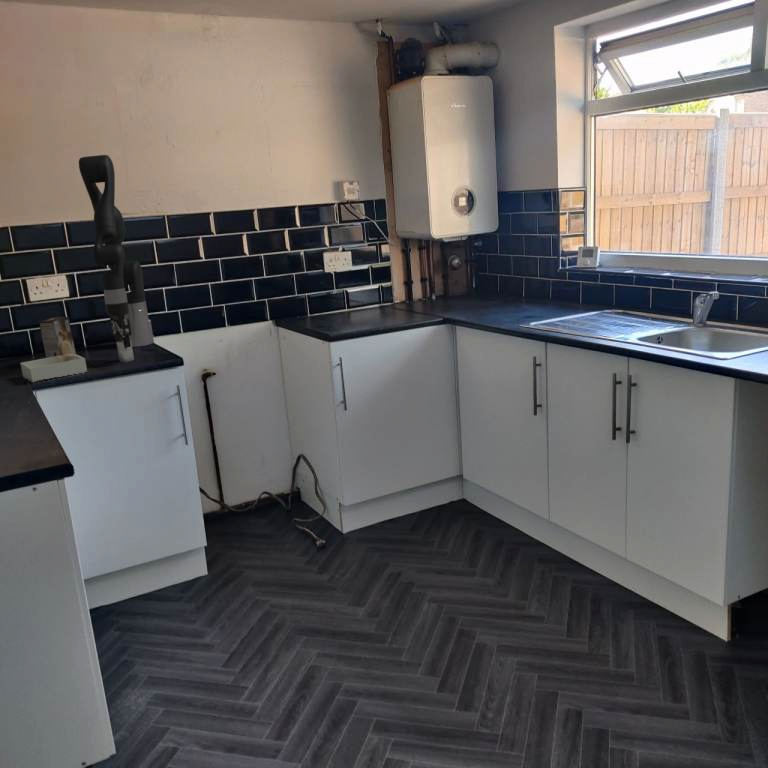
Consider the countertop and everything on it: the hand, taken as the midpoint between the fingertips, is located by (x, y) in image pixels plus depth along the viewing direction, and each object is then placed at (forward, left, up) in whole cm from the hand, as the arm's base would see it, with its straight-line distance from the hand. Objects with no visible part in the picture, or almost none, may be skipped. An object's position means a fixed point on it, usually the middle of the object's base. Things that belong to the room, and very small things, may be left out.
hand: (123, 346), depth 262 cm
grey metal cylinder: (0, 0, -5) cm, 5 cm away
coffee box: (+17, -21, -6) cm, 28 cm away
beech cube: (+20, 0, -5) cm, 21 cm away
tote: (+25, 0, -5) cm, 25 cm away
